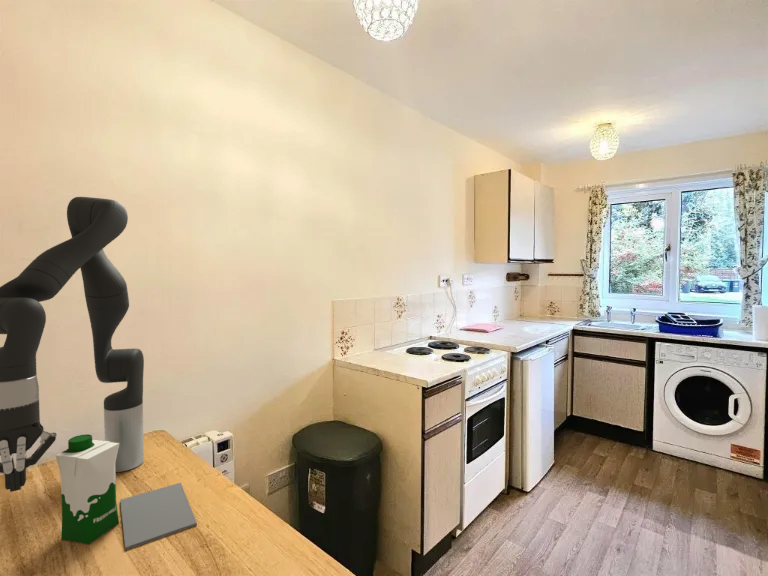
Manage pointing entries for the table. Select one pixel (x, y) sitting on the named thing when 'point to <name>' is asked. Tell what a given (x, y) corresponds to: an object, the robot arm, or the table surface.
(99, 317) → the robot arm
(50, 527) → the table surface
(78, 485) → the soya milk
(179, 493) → the mat
